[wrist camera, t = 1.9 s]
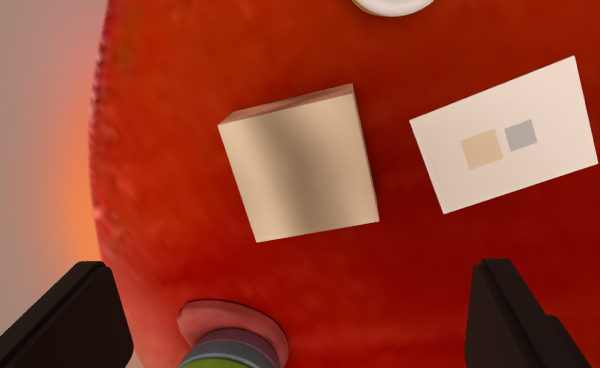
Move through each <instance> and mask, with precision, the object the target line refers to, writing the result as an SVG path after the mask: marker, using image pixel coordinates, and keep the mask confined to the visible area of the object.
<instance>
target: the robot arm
mask: <svg viewBox="0 0 600 368" xmlns="http://www.w3.org/2000/svg"><path fill="white" fill-rule="evenodd" d="M133 349H134V345H133V340H132V337H131V334H130V330H129V327H128V324H127V320H126V317H125V314H124V310H123V307H122V303H121V300H120V297H119V293H118V290H117V287H116V283H115V280H114V277H113V273H112V270H111V269H110V268H109V267H106V265H105V264H104V262H101V261H81V262H78V263H77V264H75V265H74V266H73V267H72V268H71V269H70V270H69V271H68V272H67V273H66V274H65V275H64V276H63V277H62V278H61V279H60V280H59V281H58V282H57V283H55V284H54V285H53V286H52V287H51V288H50V289H49V290H48V291H47V292H46V293H45V294H44V295H43V296H42V297H41V298H40V299H39V300H38V301H37V302H36V303H35V304H34V305H32V306H31V307H30V308H29V309H28V310H27V311H26V312H25V313H24V314H23V315H22V316H21V317H20V318H19V319H18V320H17V321H16V322H15V323H14V324H13V325H12V326H11V327H10V328H8V330H6V331H5V332H4V333H3V334H2V335H1V336H0V368H125V367H126V365H127V364H128V362H129V360H130V359H131V357H132V354H133ZM464 352H465V361H466V365H467V368H592V367H591V366H590V364H589V363H588V361H587V360H586V359H585V357H584V356H583V354H582V353H581V351H580V350H579V348H578V347H577V345H576V344H575V342H574V341H573V339H572V338H571V337H570V335H569V334H568V332H567V331H566V329H565V328H564V326H563V325H562V323H561V322H560V321H559V320H558V319H557V317H555V316H553V315H546V314H545V313H544V311H543V309H542V308H541V306H540V305H539V303H538V302H537V300H536V299H535V297H534V296H533V294H532V293H531V291H530V289H529V288H528V286H527V285H526V283H525V282H524V280H523V279H522V277H521V276H520V274H519V273H518V271H517V269H516V268H515V266H514V265H513V263H512V262H511V261H510V259H508V258H484V259H482V261H481V265H474V267H473V272H472V282H471V291H470V301H469V311H468V320H467V330H466V340H465V351H464Z"/></svg>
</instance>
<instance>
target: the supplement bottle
mask: <svg viewBox="0 0 600 368" xmlns="http://www.w3.org/2000/svg"><path fill="white" fill-rule="evenodd" d="M352 1H353V3H354V4H355V5H356V6H357V7H359V8H360V9H361V10H363V11H365V12H367V13H369V14H372V15H377V16H387V17H396V16H404V15H408V14H411V13H414V12H416V11H419V10H421V9H423V8H424V7H426V6H427V5H429V4H430V3H431V2H433V1H434V0H352Z"/></svg>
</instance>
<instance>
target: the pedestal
mask: <svg viewBox="0 0 600 368" xmlns="http://www.w3.org/2000/svg"><path fill="white" fill-rule="evenodd" d="M217 126H218V129H219V131H220V134H221V137H222V140H223V143H224V146H225V149H226V152H227V155H228V158H229V161H230V164H231V167H232V170H233V173H234V176H235V179H236V182H237V185H238V188H239V191H240V194H241V197H242V200H243V203H244V206H245V209H246V212H247V215H248V218H249V221H250V224H251V227H252V230H253V233H254V236H255V239H256V242H262V241H268V240H274V239H280V238H286V237H291V236H297V235H303V234H309V233H315V232H320V231H326V230H332V229H338V228H343V227H349V226H355V225H361V224H367V223H372V222H378V221H379V215H378V207H377V200H376V194H375V190H374V185H373V180H372V175H371V170H370V166H369V161H368V156H367V151H366V146H365V142H364V137H363V132H362V127H361V122H360V118H359V113H358V108H357V103H356V98H355V94H354V89H353V84H352V83H351V84H347V85H342V86H338V87H334V88H330V89H326V90H322V91H318V92H313V93H309V94H305V95H301V96H297V97H293V98H289V99H284V100H280V101H276V102H272V103H268V104H264V105H260V106H255V107H251V108H247V109H243V110H239V111H235V112H233V113H231V114H230V115H229V116H228V117H227V118H226V119H224V120H223V121H222V122H221V123H220V124H219V125H217Z"/></svg>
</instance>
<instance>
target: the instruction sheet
mask: <svg viewBox="0 0 600 368" xmlns="http://www.w3.org/2000/svg"><path fill="white" fill-rule="evenodd" d="M409 121H410V124H411V127H412V130H413V132H414V135H415V138H416V141H417V143H418V146H419V149H420V151H421V154H422V157H423V160H424V162H425V165H426V168H427V170H428V173H429V176H430V179H431V181H432V184H433V187H434V190H435V192H436V195H437V198H438V200H439V203H440V206H441V209H442V211H443V214H446V213H449V212H452V211H455V210H458V209H461V208H464V207H467V206H470V205H473V204H476V203H479V202H482V201H485V200H488V199H492V198H495V197H498V196H501V195H504V194H507V193H510V192H513V191H516V190H519V189H522V188H525V187H528V186H531V185H534V184H537V183H540V182H543V181H546V180H549V179H552V178H555V177H558V176H562V175H565V174H568V173H571V172H574V171H577V170H580V169H583V168H586V167H589V166H592V165H595V164H598V160H597V156H596V151H595V147H594V142H593V138H592V133H591V129H590V124H589V120H588V115H587V111H586V106H585V101H584V97H583V92H582V88H581V83H580V79H579V74H578V70H577V65H576V61H575V56H574V55H573V56H571V57H568V58H566V59H563V60H561V61H558V62H556V63H553V64H551V65H548V66H545V67H543V68H540V69H538V70H535V71H533V72H530V73H528V74H525V75H523V76H520V77H518V78H515V79H513V80H510V81H507V82H505V83H502V84H500V85H497V86H495V87H492V88H490V89H487V90H485V91H482V92H480V93H477V94H475V95H472V96H470V97H467V98H464V99H462V100H459V101H457V102H454V103H452V104H449V105H447V106H444V107H442V108H439V109H437V110H434V111H432V112H429V113H426V114H424V115H421V116H419V117H416V118H414V119H411V120H409Z"/></svg>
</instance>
